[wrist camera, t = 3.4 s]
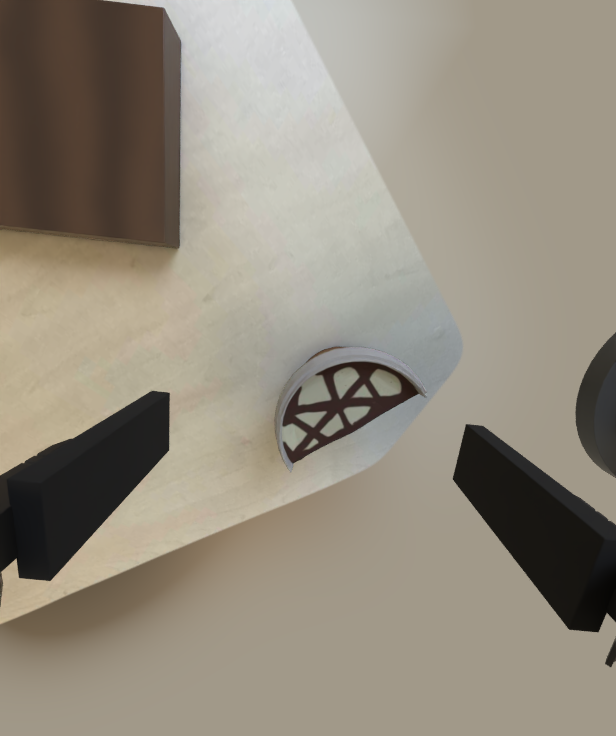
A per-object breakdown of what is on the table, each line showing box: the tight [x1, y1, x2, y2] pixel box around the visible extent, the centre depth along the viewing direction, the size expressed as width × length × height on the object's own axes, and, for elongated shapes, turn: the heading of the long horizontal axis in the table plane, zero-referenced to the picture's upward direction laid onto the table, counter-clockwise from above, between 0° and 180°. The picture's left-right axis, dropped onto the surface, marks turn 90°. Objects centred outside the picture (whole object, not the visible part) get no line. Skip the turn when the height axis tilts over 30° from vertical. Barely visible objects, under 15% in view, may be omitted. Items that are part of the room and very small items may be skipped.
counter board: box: [0, 0, 181, 248], centre depth 25 cm, size 20×16×3 cm
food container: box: [275, 347, 427, 472], centre depth 27 cm, size 12×6×10 cm, turn 121°
